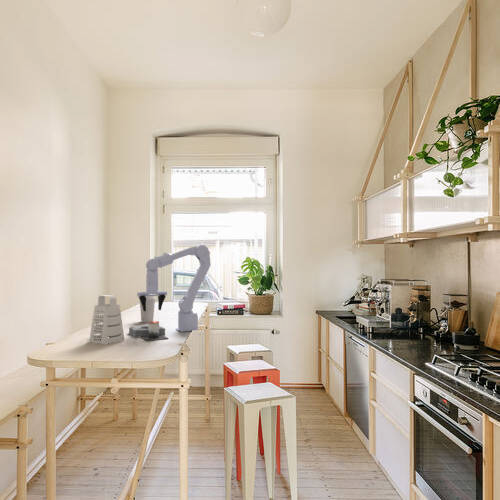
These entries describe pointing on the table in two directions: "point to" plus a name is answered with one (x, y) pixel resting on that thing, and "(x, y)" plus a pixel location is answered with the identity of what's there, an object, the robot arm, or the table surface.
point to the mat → (154, 338)
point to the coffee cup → (148, 309)
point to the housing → (143, 331)
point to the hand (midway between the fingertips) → (152, 310)
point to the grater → (107, 322)
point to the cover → (153, 329)
